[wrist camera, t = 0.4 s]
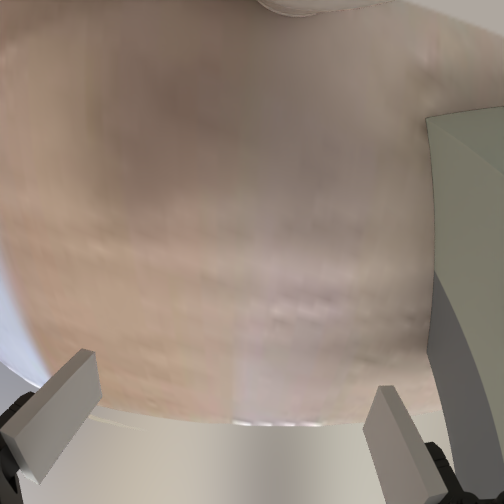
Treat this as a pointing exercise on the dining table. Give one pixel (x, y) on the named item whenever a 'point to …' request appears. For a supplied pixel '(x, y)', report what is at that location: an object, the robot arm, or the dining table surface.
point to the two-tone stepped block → (470, 292)
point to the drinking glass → (315, 6)
